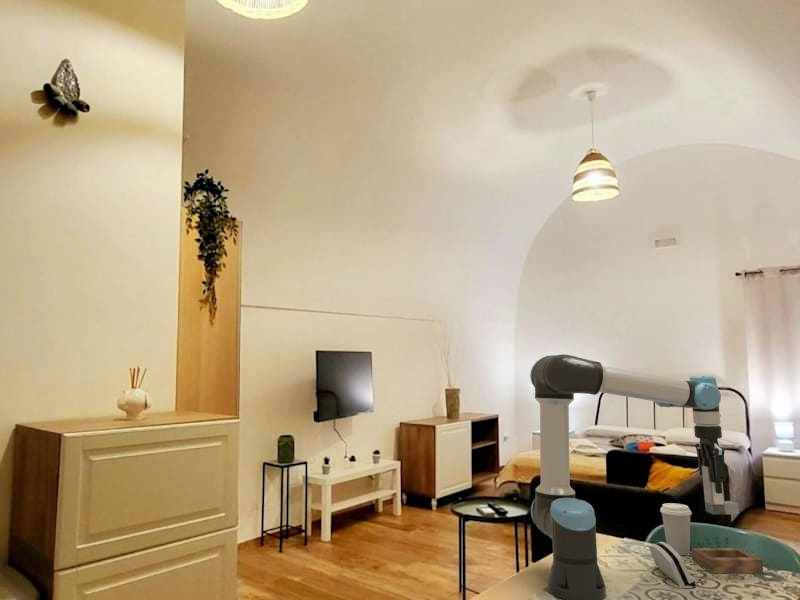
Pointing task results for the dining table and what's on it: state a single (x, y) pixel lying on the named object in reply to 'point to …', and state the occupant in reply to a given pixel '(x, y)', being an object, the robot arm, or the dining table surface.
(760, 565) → the frame
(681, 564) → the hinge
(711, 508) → the bracket
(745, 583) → the dining table surface
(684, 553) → the coffee cup
